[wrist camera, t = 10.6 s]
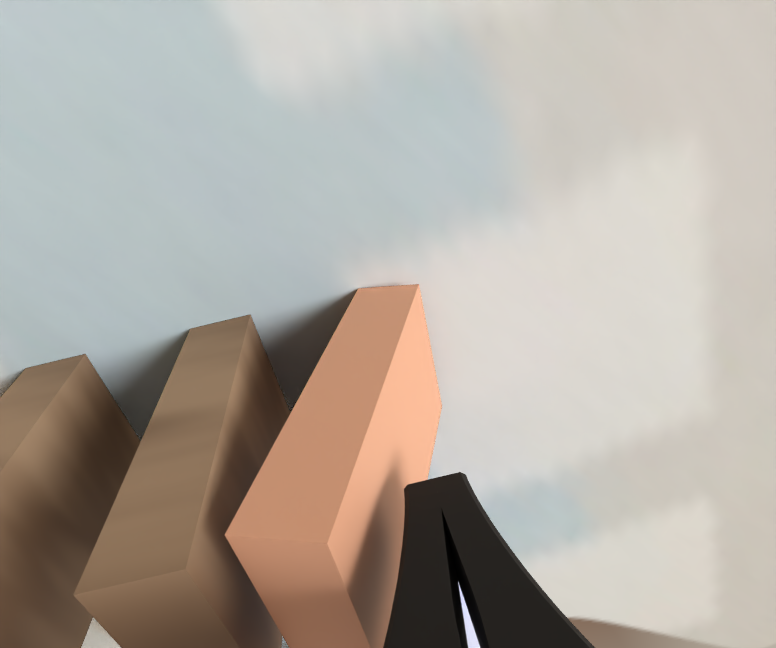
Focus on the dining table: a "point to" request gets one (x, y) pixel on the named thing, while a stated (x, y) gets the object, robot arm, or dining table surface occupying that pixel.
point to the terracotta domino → (344, 478)
